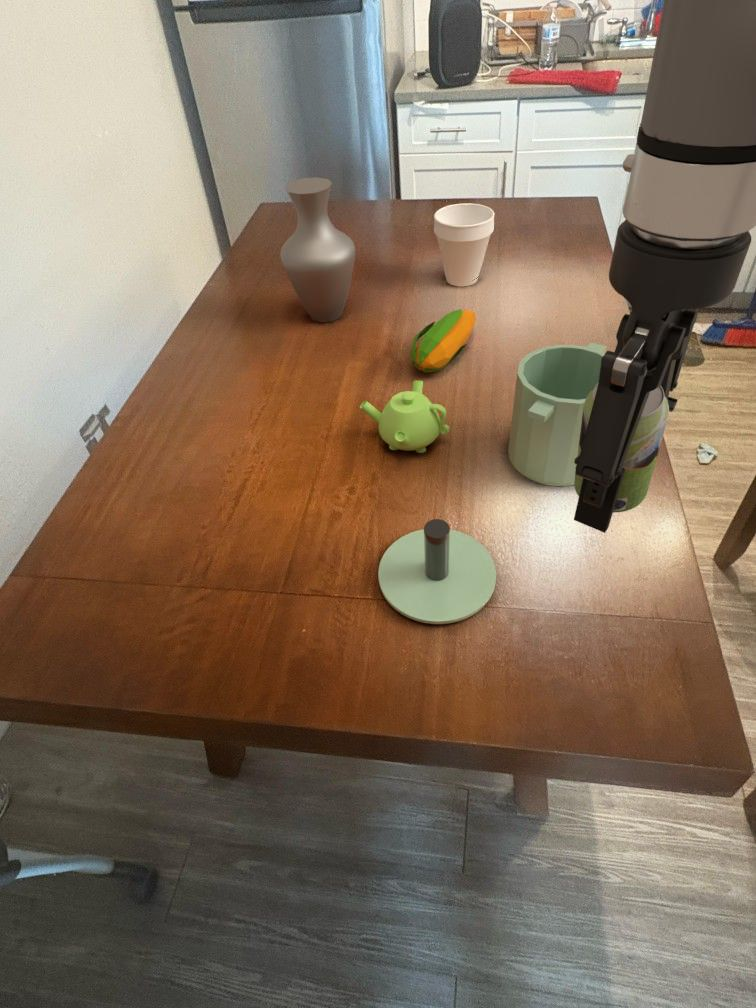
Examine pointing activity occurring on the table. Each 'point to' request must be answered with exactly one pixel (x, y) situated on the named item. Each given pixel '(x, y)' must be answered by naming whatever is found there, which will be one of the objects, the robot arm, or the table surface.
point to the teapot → (409, 420)
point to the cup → (463, 240)
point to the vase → (317, 252)
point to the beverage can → (635, 449)
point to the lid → (437, 574)
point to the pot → (552, 410)
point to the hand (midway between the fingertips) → (610, 494)
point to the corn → (442, 340)
